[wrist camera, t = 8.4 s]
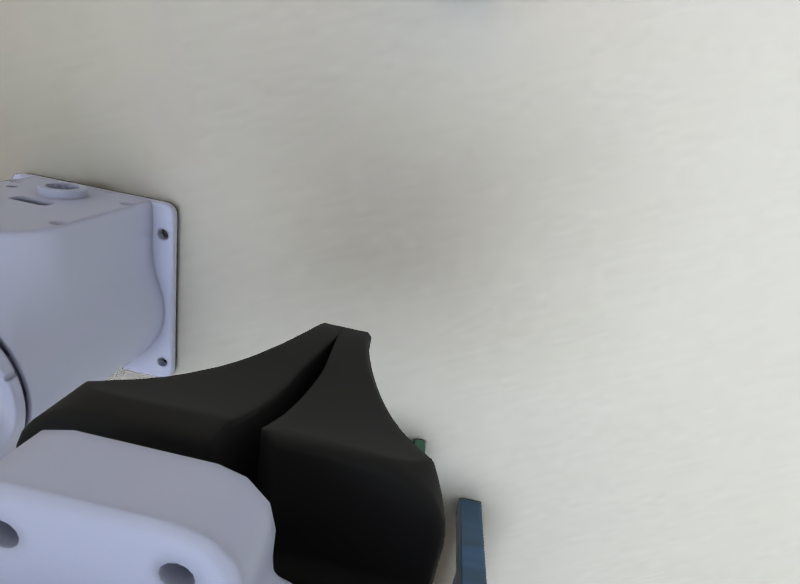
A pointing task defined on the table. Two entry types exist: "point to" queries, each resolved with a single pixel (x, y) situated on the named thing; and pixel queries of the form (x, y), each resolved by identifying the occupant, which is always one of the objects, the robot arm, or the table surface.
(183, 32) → the table surface
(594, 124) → the table surface
